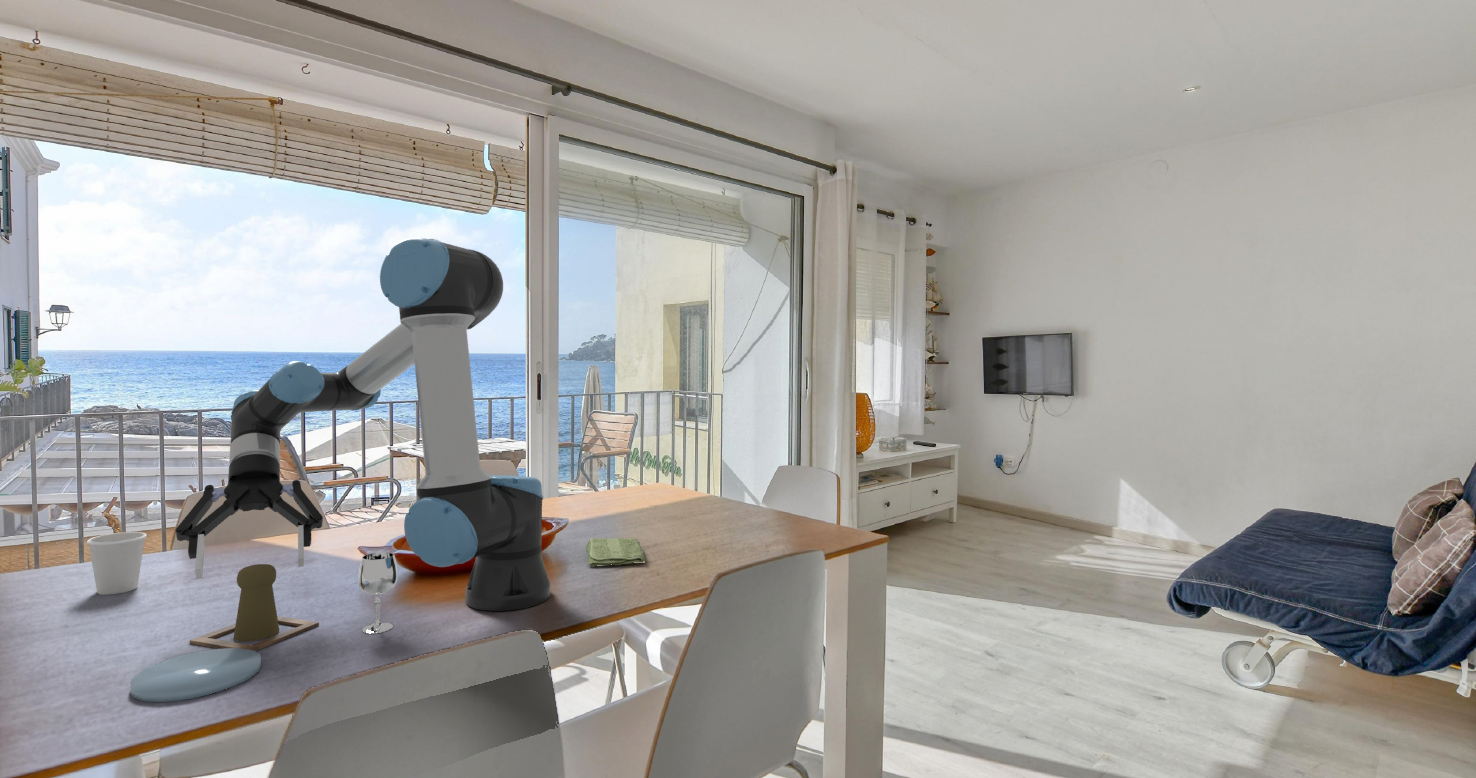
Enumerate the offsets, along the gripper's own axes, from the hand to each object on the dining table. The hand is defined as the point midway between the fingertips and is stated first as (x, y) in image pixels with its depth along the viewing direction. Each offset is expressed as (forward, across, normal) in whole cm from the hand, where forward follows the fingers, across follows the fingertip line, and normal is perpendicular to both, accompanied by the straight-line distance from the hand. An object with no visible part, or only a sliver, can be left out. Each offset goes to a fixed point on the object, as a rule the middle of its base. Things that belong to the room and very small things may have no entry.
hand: (251, 568), depth 112 cm
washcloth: (0, -69, -15) cm, 70 cm away
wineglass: (+15, -17, +1) cm, 23 cm away
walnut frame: (+10, -1, -4) cm, 10 cm away
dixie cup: (-18, +22, -32) cm, 42 cm away
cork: (+10, -1, -4) cm, 11 cm away
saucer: (+20, +5, +6) cm, 21 cm away
